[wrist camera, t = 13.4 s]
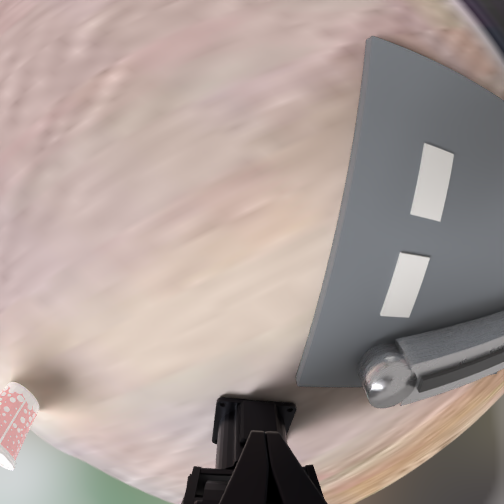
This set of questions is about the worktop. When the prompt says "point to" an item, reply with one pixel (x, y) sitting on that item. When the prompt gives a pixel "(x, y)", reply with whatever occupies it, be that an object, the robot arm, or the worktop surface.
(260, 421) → the robot arm
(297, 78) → the worktop surface
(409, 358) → the bar
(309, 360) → the label board
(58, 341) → the worktop surface
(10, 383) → the beverage cup
